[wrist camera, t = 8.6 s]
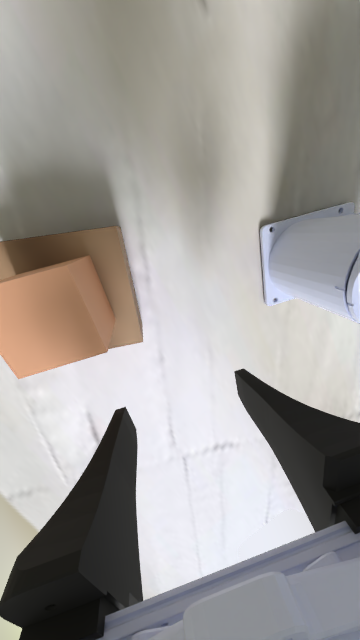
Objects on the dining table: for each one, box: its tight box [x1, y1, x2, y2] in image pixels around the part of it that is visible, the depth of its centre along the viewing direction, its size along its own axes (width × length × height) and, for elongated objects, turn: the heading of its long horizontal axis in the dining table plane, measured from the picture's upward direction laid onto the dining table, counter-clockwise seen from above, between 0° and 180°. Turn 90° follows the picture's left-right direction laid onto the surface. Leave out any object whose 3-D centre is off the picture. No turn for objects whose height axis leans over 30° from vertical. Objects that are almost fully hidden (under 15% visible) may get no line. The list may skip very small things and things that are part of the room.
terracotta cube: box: [0, 255, 116, 379], centre depth 13 cm, size 5×5×5 cm
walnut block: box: [0, 226, 143, 349], centre depth 17 cm, size 9×9×4 cm
